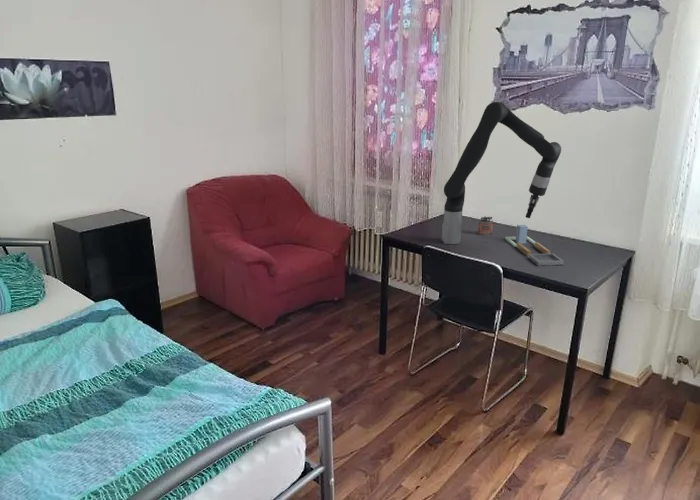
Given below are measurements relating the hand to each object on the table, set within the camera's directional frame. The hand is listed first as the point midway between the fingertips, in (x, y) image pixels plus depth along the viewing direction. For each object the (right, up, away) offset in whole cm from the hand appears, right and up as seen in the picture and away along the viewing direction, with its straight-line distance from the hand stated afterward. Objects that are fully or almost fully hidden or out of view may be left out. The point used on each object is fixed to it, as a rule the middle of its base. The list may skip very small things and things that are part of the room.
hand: (528, 214), depth 251 cm
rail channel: (+4, -18, +5) cm, 19 cm away
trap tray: (+5, -23, -9) cm, 25 cm away
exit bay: (+3, -14, +18) cm, 23 cm away
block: (+2, -13, +19) cm, 24 cm away
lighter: (-13, -9, +33) cm, 37 cm away
